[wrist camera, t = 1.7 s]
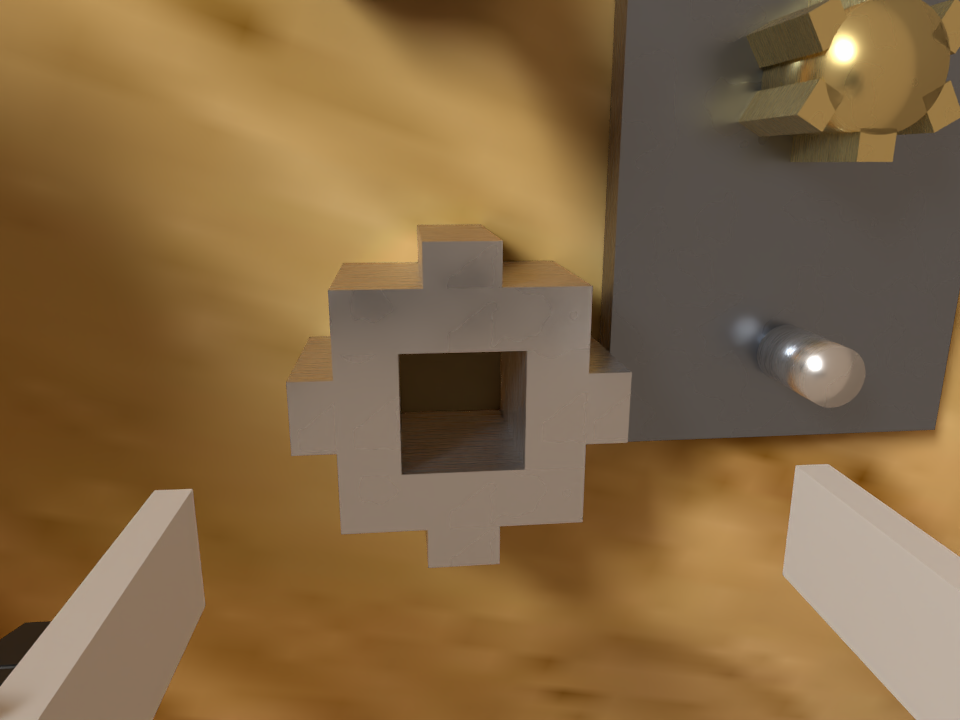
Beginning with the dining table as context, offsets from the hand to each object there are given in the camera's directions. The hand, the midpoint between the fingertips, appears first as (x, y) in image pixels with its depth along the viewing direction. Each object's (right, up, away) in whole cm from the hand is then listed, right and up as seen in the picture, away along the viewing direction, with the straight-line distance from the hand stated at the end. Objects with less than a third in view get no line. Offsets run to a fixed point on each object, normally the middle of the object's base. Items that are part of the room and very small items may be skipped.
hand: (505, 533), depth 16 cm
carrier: (+11, +12, +12) cm, 20 cm away
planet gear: (-2, +4, +13) cm, 14 cm away
